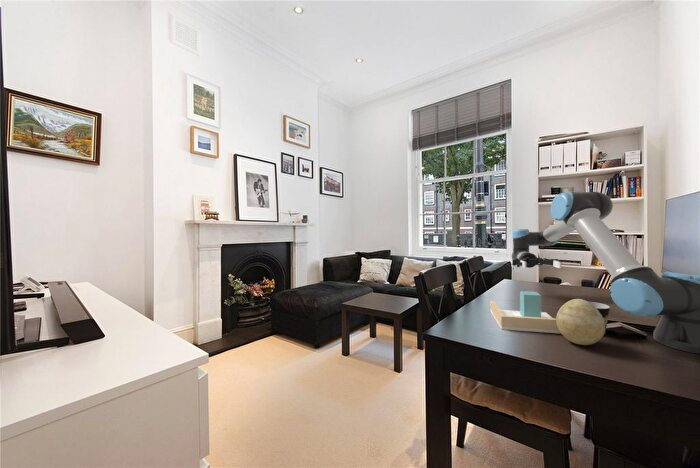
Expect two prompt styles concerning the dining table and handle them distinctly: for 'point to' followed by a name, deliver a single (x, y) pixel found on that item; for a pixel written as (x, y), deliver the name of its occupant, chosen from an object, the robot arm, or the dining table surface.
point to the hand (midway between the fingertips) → (542, 265)
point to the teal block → (530, 304)
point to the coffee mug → (602, 311)
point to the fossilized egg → (580, 322)
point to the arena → (523, 321)
